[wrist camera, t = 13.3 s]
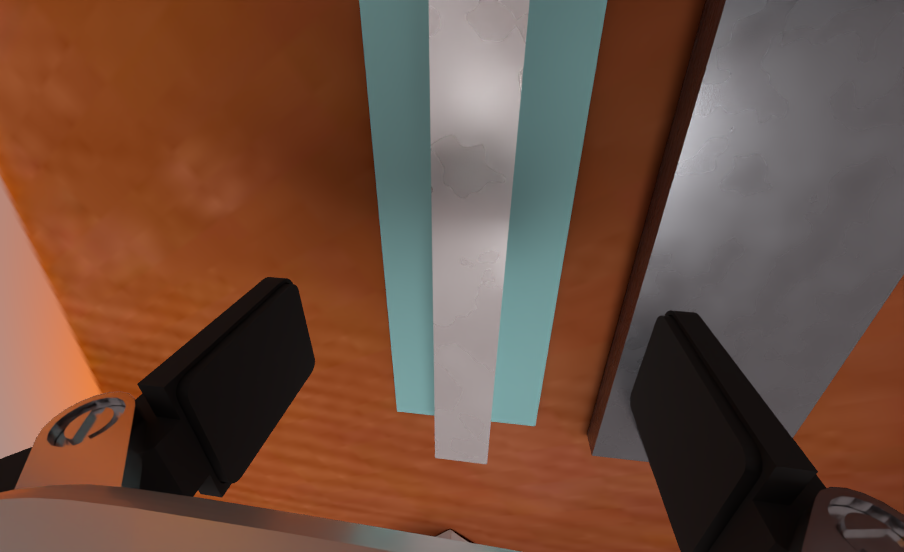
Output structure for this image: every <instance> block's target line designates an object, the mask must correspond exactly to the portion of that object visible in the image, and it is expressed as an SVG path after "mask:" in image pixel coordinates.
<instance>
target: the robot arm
mask: <svg viewBox="0 0 904 552" xmlns="http://www.w3.org/2000/svg"><path fill="white" fill-rule="evenodd" d="M314 364H315V358H314V354H313V350H312V345H311V341H310V337H309V333H308V328H307V324H306V320H305V316H304V311H303V307H302V303H301V299H300V295H299V290H298V287H297V286H296V285H294V284H293V283H292V282H291V280H289V279H285V278H273V277H267V278H265V279H263V280H262V281H261V282H260V283H258V284H257V285H256V286H255V287H254V288H252V289H251V290H250V291H249V292H248V293H246V294H245V295H244V296H243V297H242V298H240V299H239V300H238V301H237V302H236V303H234V304H233V305H232V306H231V307H229V308H228V309H227V310H226V311H225V312H223V313H222V314H221V315H220V316H219V317H217V318H216V319H215V320H214V321H213V322H211V323H210V324H209V325H208V326H207V327H205V328H204V329H203V330H202V331H201V332H199V333H198V334H197V335H196V336H195V337H193V338H192V339H191V340H190V341H189V342H187V343H186V344H185V345H184V346H183V347H181V348H180V349H179V350H178V351H176V352H175V353H174V354H173V355H172V356H170V357H169V358H168V359H167V360H166V361H164V362H163V363H162V364H161V365H160V366H158V367H157V368H156V369H155V370H154V371H152V372H151V373H150V374H149V375H148V376H146V377H145V378H144V379H143V380H142V381H140V382H139V383H138V386H139V388H140V390H141V391H142V393H143V394H142V395H140V396H139V397H138V398H137V399H136V400H135V398H134V397H133V396H131V395H130V394H129V393H124V392H108V393H104V394H100V395H96V396H93V397H90V398H88V399H85V400H83V401H80V402H79V403H76V404H75V405H73V406H71V407H69V408H67V409H65V410H64V411H63V412H61V413H60V414H58V415H57V416H55V417H54V418H53V419H52V420H51V421H49V423H47V424H46V425H45V426H44V427H43V429H42V430H41V431H40V433H39V434H38V436H37V437H36V440H35V442H34V445H33V447H31V448H28V449H25V450H23V451H21V452H18V453H15V454H12V455H10V456H7V457H4V458H2V459H0V552H520V551H514V550H509V549H503V548H497V547H492V546H486V545H480V544H474V543H468V542H462V541H456V540H451V539H445V538H439V537H433V536H427V535H421V534H415V533H409V532H403V531H398V530H392V529H386V528H380V527H374V526H368V525H362V524H356V523H350V522H344V521H338V520H332V519H326V518H320V517H314V516H308V515H302V514H296V513H290V512H283V511H277V510H271V509H265V508H259V507H253V506H247V505H241V504H234V503H228V502H222V501H216V500H210V499H204V498H197V497H193V496H194V495H195V493H196V492H197V491H198V490H199V492H200V494H204V495H210V496H216V497H223V495H224V494H225V492H226V491H227V489H228V488H229V487H230V485H231V484H232V483H235V482H237V481H238V480H239V479H240V478H241V477H242V475H243V474H244V472H245V471H246V469H247V468H248V466H249V465H250V463H251V462H252V460H253V459H254V457H255V456H256V454H257V453H258V452H259V450H260V449H261V447H262V446H263V444H264V443H265V441H266V440H267V438H268V437H269V435H270V434H271V432H272V431H273V429H274V428H275V426H276V425H277V423H278V422H279V420H280V419H281V417H282V416H283V414H284V413H285V411H286V410H287V408H288V407H289V405H290V404H291V402H292V401H293V399H294V398H295V396H296V395H297V393H298V392H299V391H300V389H301V388H302V386H303V385H304V383H305V382H306V380H307V379H308V377H309V376H310V374H311V373H312V371H313V368H314ZM630 406H631V410H632V413H633V416H634V419H635V422H636V424H637V427H638V430H639V433H640V436H641V439H642V442H643V445H644V448H645V450H646V453H647V456H648V459H649V462H650V465H651V468H652V471H653V474H654V477H655V479H656V482H657V485H658V488H659V491H660V494H661V497H662V500H663V503H664V505H665V508H666V511H667V514H668V517H669V520H670V523H671V526H672V529H673V531H674V534H675V537H676V540H677V543H678V546H679V548H680V550H681V552H904V515H903V514H901V513H900V512H898V511H897V510H895V509H893V508H892V507H890V506H889V505H887V504H885V503H884V502H882V501H880V500H877V499H875V498H873V497H871V496H869V495H867V494H864V493H861V492H858V491H855V490H851V489H848V488H840V487H829V488H826V487H825V486H824V484H823V483H822V482H821V480H820V479H819V478H818V476H817V475H816V473H817V472H818V471H817V470H816V469H815V467H814V466H813V465H812V463H811V462H810V461H809V459H808V458H807V457H806V455H805V454H804V453H803V451H802V450H801V449H800V447H799V446H798V445H797V443H796V442H795V441H794V440H793V438H792V437H791V436H790V434H789V433H788V432H787V430H786V429H785V428H784V426H783V425H782V424H781V422H780V421H779V420H778V418H777V417H776V416H775V414H774V413H773V412H772V410H771V409H770V408H769V407H768V405H767V404H766V403H765V401H764V400H763V399H762V397H761V396H760V395H759V393H758V392H757V391H756V389H755V388H754V387H753V385H752V384H751V383H750V381H749V380H748V379H747V378H746V376H745V375H744V374H743V372H742V371H741V370H740V368H739V367H738V366H737V364H736V363H735V362H734V360H733V359H732V358H731V356H730V355H729V354H728V352H727V351H726V350H725V348H724V347H723V346H722V345H721V343H720V342H719V341H718V339H717V338H716V337H715V335H714V334H713V333H712V331H711V330H710V329H709V327H708V326H707V325H706V323H705V322H704V321H703V319H702V318H701V317H700V316H699V315H698V314H697V313H695V312H685V311H672V310H670V311H667V312H666V314H665V315H664V316H659V317H658V318H657V320H656V322H655V325H654V328H653V331H652V334H651V337H650V340H649V342H648V345H647V348H646V351H645V354H644V357H643V360H642V363H641V366H640V369H639V372H638V374H637V377H636V380H635V383H634V386H633V389H632V392H631V396H630Z"/></svg>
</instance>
